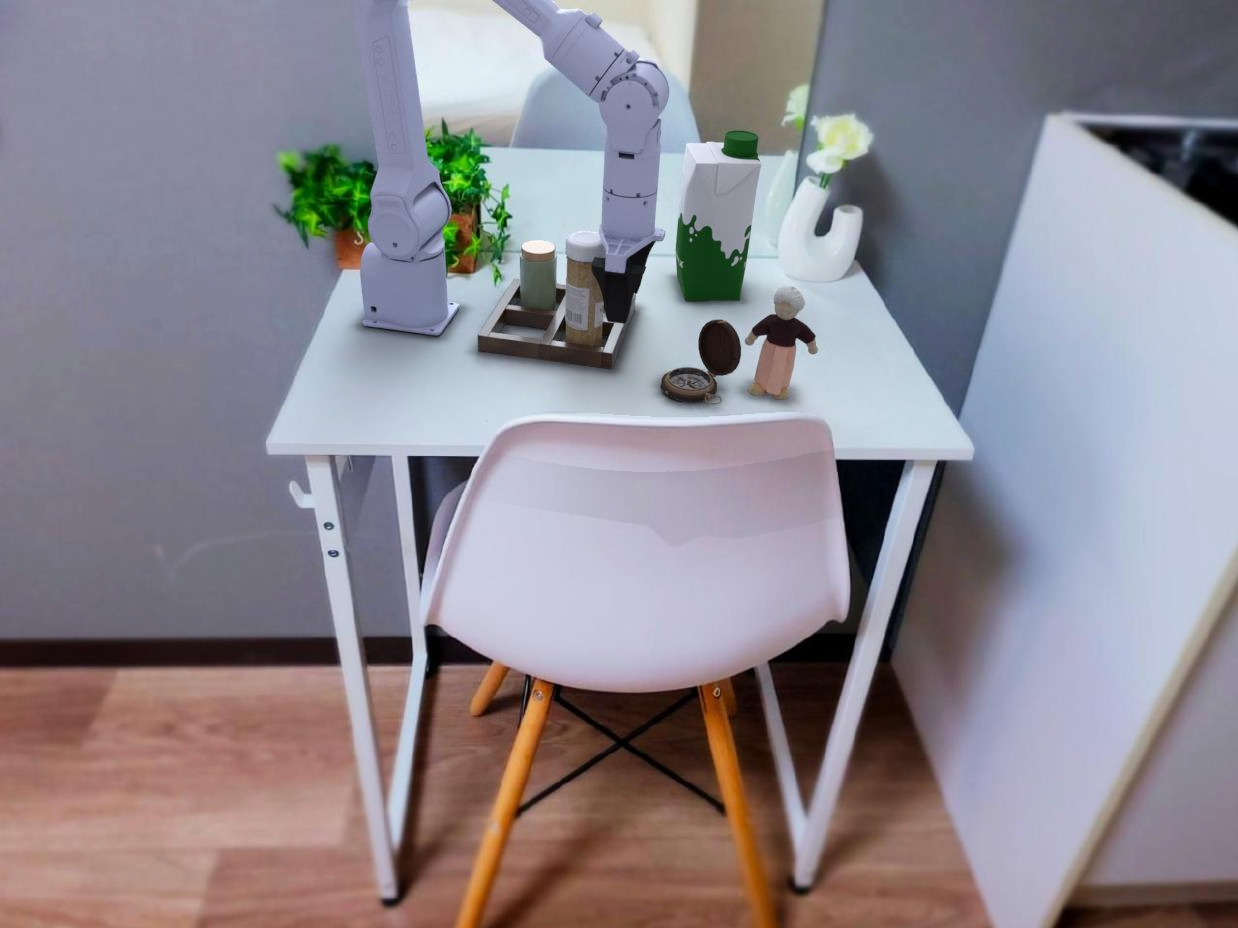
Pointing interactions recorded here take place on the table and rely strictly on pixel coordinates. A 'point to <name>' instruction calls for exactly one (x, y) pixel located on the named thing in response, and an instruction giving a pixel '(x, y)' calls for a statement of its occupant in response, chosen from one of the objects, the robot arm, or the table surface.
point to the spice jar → (538, 275)
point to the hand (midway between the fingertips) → (623, 306)
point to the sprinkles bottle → (583, 289)
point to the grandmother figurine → (780, 343)
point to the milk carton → (716, 216)
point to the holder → (547, 333)
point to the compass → (706, 364)
